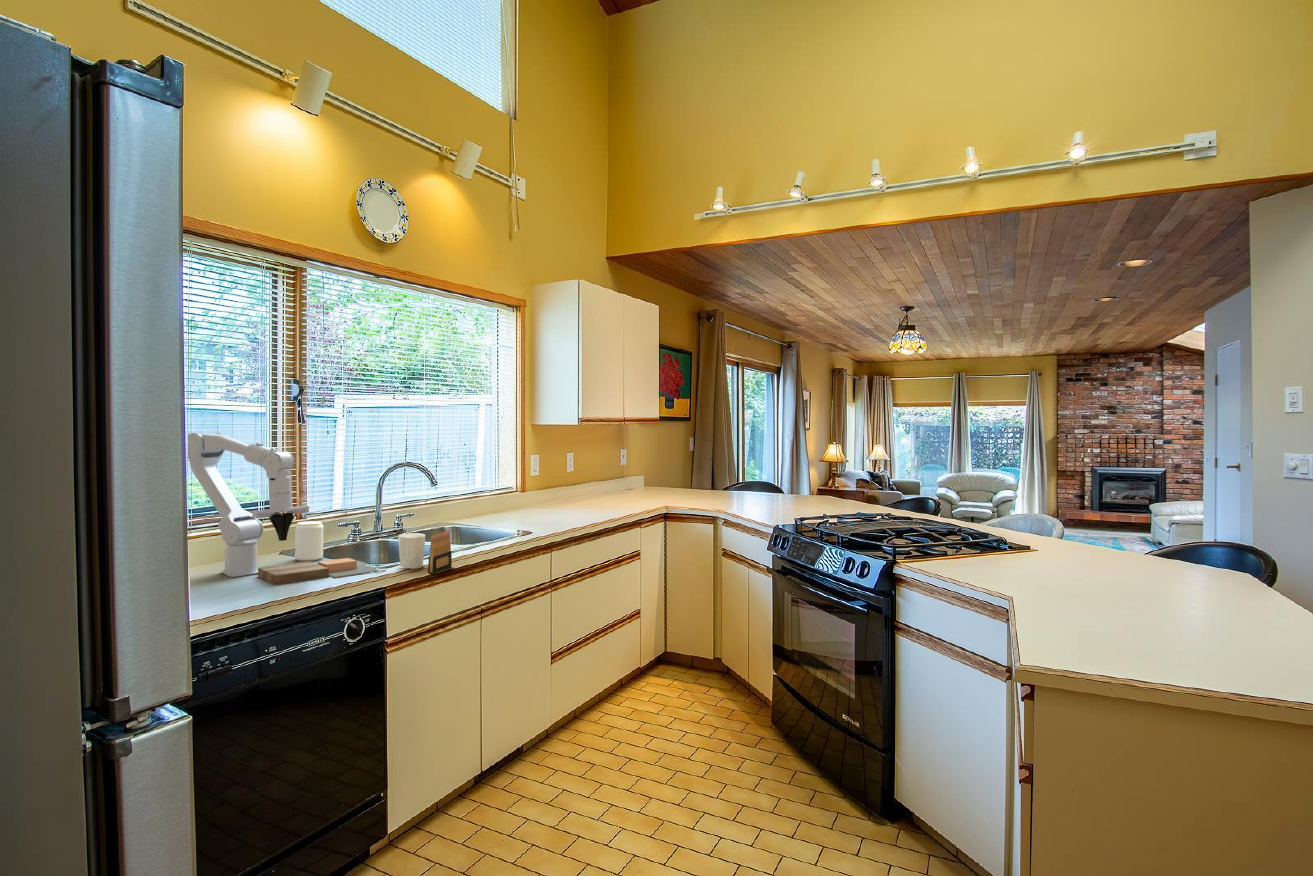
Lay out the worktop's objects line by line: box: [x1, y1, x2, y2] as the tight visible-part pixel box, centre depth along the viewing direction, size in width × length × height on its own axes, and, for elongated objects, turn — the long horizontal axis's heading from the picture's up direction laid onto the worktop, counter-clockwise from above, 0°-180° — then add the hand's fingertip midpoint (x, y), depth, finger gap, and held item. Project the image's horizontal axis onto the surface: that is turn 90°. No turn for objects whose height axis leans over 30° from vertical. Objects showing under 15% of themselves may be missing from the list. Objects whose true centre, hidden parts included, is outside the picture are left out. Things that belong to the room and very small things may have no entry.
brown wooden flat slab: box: [257, 561, 330, 586], centre depth 190 cm, size 14×14×2 cm
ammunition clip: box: [427, 529, 453, 575], centre depth 203 cm, size 11×2×12 cm, turn 168°
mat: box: [329, 560, 380, 579], centre depth 200 cm, size 18×15×1 cm
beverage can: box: [294, 520, 324, 562], centre depth 215 cm, size 8×8×12 cm
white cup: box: [398, 532, 426, 570], centre depth 206 cm, size 8×8×10 cm
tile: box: [317, 557, 358, 572], centre depth 199 cm, size 6×9×2 cm, turn 138°
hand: (282, 540), depth 190 cm, fingers closed
